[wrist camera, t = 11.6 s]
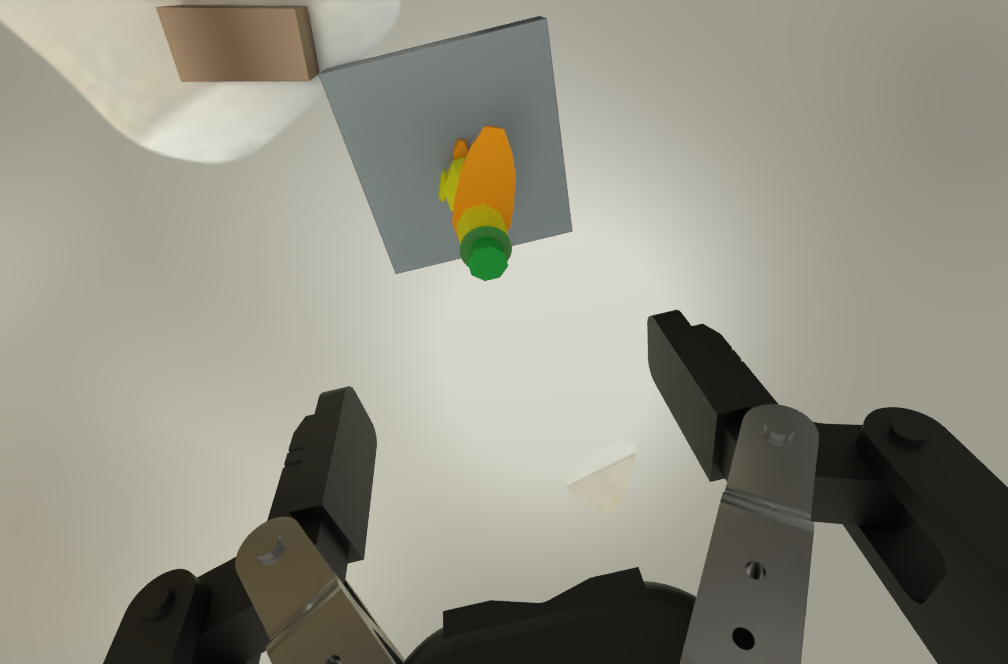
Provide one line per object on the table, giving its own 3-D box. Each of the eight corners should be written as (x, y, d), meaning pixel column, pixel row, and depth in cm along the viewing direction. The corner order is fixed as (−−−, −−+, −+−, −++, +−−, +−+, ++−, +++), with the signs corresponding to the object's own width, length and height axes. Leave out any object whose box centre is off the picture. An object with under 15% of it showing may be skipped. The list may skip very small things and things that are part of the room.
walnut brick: (307, 6, 25) (294, 8, 22) (320, 71, 26) (309, 80, 24) (183, 4, 24) (155, 7, 22) (204, 72, 26) (181, 81, 23)
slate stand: (539, 16, 26) (546, 18, 24) (565, 219, 33) (572, 231, 32) (325, 69, 26) (318, 74, 25) (397, 260, 33) (395, 273, 32)
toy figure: (443, 86, 26) (454, 145, 16) (509, 96, 26) (557, 159, 17) (434, 207, 29) (438, 314, 20) (491, 213, 30) (523, 320, 20)
